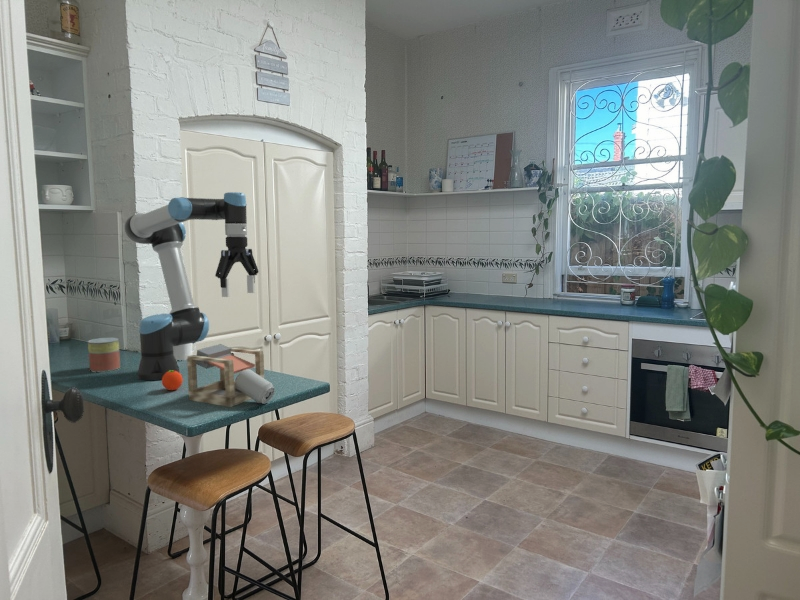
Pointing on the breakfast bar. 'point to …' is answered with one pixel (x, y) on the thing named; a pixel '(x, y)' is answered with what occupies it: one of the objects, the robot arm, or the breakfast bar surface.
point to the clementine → (172, 380)
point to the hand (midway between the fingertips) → (238, 294)
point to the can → (254, 386)
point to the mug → (183, 351)
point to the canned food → (104, 354)
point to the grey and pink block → (222, 353)
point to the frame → (221, 380)
